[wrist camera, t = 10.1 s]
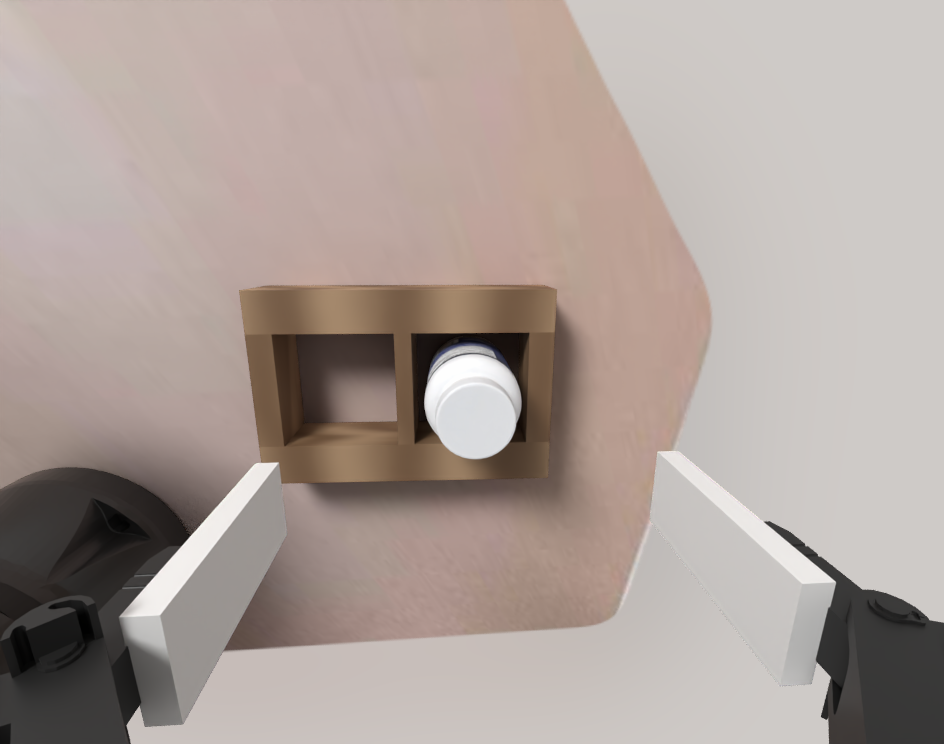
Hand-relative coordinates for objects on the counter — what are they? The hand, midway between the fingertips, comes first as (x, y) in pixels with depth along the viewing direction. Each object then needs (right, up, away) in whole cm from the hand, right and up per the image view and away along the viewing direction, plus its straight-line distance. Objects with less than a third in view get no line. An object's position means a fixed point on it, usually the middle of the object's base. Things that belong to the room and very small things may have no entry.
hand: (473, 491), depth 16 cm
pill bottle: (0, +4, +16) cm, 16 cm away
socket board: (-4, +4, +15) cm, 17 cm away
